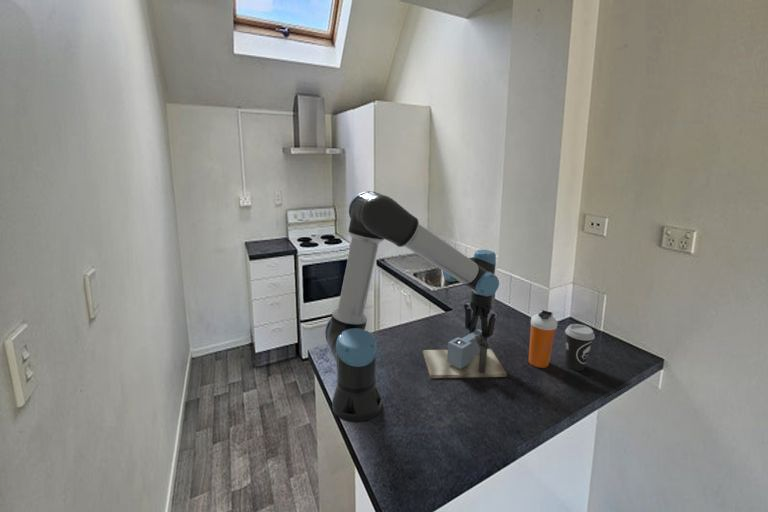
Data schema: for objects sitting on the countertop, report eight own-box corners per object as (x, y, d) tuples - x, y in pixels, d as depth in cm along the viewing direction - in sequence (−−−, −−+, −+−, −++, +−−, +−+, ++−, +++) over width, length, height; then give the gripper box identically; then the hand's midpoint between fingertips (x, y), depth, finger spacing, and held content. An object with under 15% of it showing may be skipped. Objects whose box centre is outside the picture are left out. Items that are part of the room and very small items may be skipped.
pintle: (456, 369, 134) (458, 343, 132) (455, 366, 136) (457, 340, 134) (462, 369, 135) (464, 343, 132) (460, 366, 136) (462, 340, 134)
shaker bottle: (524, 365, 138) (530, 315, 132) (527, 354, 145) (533, 306, 140) (550, 371, 134) (557, 320, 128) (552, 360, 141) (559, 311, 136)
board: (430, 378, 129) (430, 375, 129) (423, 352, 145) (423, 350, 145) (506, 376, 130) (506, 373, 130) (490, 351, 147) (491, 349, 146)
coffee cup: (582, 359, 142) (588, 323, 138) (593, 373, 133) (600, 335, 129) (556, 358, 143) (562, 322, 139) (565, 372, 134) (571, 334, 130)
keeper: (477, 376, 131) (480, 346, 127) (472, 364, 137) (474, 336, 134) (486, 376, 131) (489, 345, 127) (480, 364, 138) (482, 336, 134)
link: (460, 369, 131) (462, 348, 129) (446, 362, 135) (448, 342, 133) (486, 352, 142) (488, 333, 140) (473, 346, 146) (474, 327, 144)
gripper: (457, 288, 140) (454, 344, 146) (496, 300, 128) (490, 361, 135) (469, 284, 145) (465, 338, 151) (507, 295, 133) (501, 353, 140)
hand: (477, 349), depth 143 cm, fingers closed on link, 3 cm apart
